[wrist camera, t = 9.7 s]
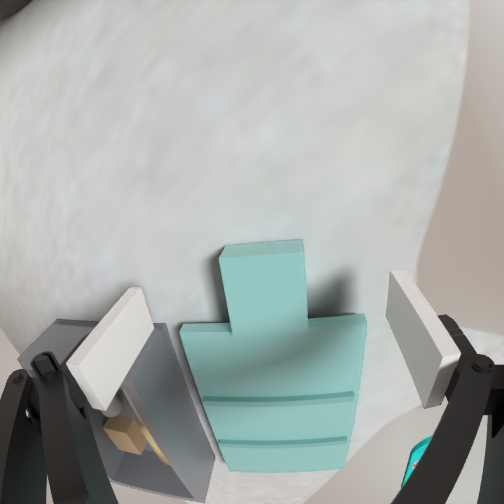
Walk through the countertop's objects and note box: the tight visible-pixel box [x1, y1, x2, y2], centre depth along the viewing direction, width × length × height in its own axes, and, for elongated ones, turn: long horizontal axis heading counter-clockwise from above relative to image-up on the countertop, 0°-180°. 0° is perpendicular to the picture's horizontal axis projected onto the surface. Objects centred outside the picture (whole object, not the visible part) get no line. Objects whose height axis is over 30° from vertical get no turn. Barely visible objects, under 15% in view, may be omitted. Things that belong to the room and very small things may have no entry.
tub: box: [18, 319, 215, 503], centre depth 22 cm, size 18×11×6 cm, turn 7°
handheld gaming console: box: [401, 435, 433, 488], centre depth 25 cm, size 8×1×15 cm
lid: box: [179, 239, 367, 473], centre depth 21 cm, size 24×12×2 cm, turn 7°
